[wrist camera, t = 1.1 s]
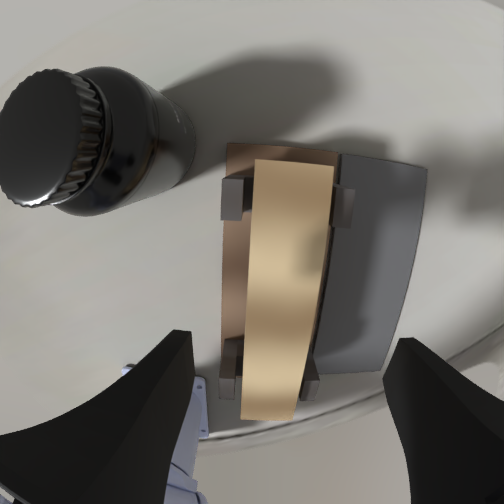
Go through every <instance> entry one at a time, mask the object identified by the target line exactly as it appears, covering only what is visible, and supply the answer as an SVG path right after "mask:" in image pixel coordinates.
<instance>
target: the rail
mask: <svg viewBox="0 0 504 504" xmlns="http://www.w3.org/2000/svg"><path fill="white" fill-rule="evenodd" d="M333 174H334V166H326V165H318V164H308V163H298V162H287V161H274V160H260V159H255V168H254V185H253V201H252V218H251V235H250V253H249V270H248V287H247V305H246V322H245V340H244V358H243V376H242V396H241V418H240V420H292V419H293V415H294V411H295V407H296V403H297V399H298V395H299V390H300V386H301V381H302V377H303V372H304V368H305V363H306V358H307V354H308V349H309V344H310V339H311V333H312V328H313V323H314V317H315V312H316V306H317V300H318V294H319V288H320V281H321V275H322V268H323V261H324V254H325V247H326V239H327V231H328V223H329V214H330V205H331V195H332V185H333Z"/></svg>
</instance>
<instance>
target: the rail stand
mask: <svg viewBox="0 0 504 504" xmlns="http://www.w3.org/2000/svg"><path fill="white" fill-rule="evenodd" d="M255 159H260V160H274V161H287V162H298V163H308V164H318V165H326V166H334V174H333V185H332V195H331V205H330V214H329V223H328V231H327V239H326V247H325V254H324V261H323V268H322V275H321V281H320V288H319V294H318V300H317V306H316V312H315V317H314V323H313V328H312V333H311V339H310V344H309V349H308V354H307V358H306V363H305V368H304V372H303V377H302V381H301V386H300V390H299V398H300V401H314V399H315V396H316V392H317V389H318V385H319V382H320V379H319V376H318V372H317V368H316V365H315V361H314V358H313V354H312V351H311V345H312V341H313V335H314V330H315V325H316V320H317V314H318V309H319V303H320V297H321V291H322V285H323V279H324V273H325V266H326V259H327V252H328V245H329V237H330V229H331V227H335V228H348V229H351V222H352V215H353V206H354V198H355V189H352V188H349V187H345V186H342V185H339V184H336V172H337V159H338V152H331V151H324V150H315V149H306V148H297V147H286V146H273V145H259V144H240V143H227V160H226V177H225V178H223V179H222V195H221V220H224V229H223V262H222V317H221V367H220V374H219V399H232V400H234V392H235V379H236V377H237V378H242V376H243V358H244V340H245V322H246V305H247V287H248V270H249V253H250V235H251V218H252V201H253V185H254V168H255Z"/></svg>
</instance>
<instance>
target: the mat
mask: <svg viewBox="0 0 504 504" xmlns="http://www.w3.org/2000/svg"><path fill="white" fill-rule="evenodd" d="M426 179H427V169H423V168H419V167H415V166H410V165H405V164H400V163H395V162H390V161H385V160H379V159H374V158H368V157H362V156H356V155H349V154H341V158H340V170H339V182H338V184H339V185H342V186H345V187H349V188H352V189H355V198H354V206H353V215H352V222H351V229H348V228H335V227H334V228H333V236H332V243H331V250H330V257H329V264H328V271H327V277H326V283H325V289H324V295H323V301H322V306H321V312H320V317H319V323H318V328H317V333H316V338H315V343H314V347H313V352H312V354H313V358H314V361H315V365H316V368H317V372H318V374H338V373H355V372H369V371H380V370H381V367H382V365H383V362H384V359H385V357H386V354H387V351H388V348H389V345H390V342H391V340H392V337H393V334H394V330H395V327H396V324H397V321H398V318H399V314H400V311H401V308H402V304H403V300H404V297H405V293H406V289H407V285H408V282H409V277H410V273H411V269H412V265H413V260H414V256H415V251H416V246H417V241H418V235H419V230H420V224H421V218H422V211H423V204H424V197H425V188H426Z"/></svg>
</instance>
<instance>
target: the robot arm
mask: <svg viewBox="0 0 504 504" xmlns="http://www.w3.org/2000/svg"><path fill="white" fill-rule="evenodd" d="M122 374H123V376H122V377H121V378H120V379H118V380H117V381H116V382H115V383H113V384H112V385H111V386H109V387H108V388H107V389H105V390H104V391H102V392H101V393H99V394H98V395H96V396H95V397H93V398H92V399H90V400H89V401H87V402H85V403H83V404H82V405H80V406H78V407H76V408H74V409H72V410H70V411H68V412H67V413H65V414H63V415H61V416H58V417H56V418H54V419H52V420H49V421H47V422H44V423H42V424H39V425H36V426H33V427H30V428H27V429H24V430H20V431H16V432H12V433H8V434H4V435H0V487H1V488H2V489H4V490H5V491H6V492H8V493H9V494H10V495H12V496H13V497H14V498H15V499H14V502H13V503H12V502H10V501H9V500H7V499H6V498H5V497H3V496H2V495H1V494H0V504H208V502H207V500H206V497H205V496H204V495H203V494H202V493H201V492H198V491H196V490H197V483H198V481H197V480H194V479H192V476H193V471H194V465H195V459H196V453H197V447H198V441H199V438H208V436H209V429H208V416H207V401H206V384H205V380H204V378H202V377H195V367H194V357H193V346H192V334H191V331H182V330H172V331H171V332H170V333H169V334H168V335H167V336H166V337H165V338H164V339H163V340H162V341H161V342H160V343H159V344H158V345H157V346H156V347H155V348H154V349H153V350H152V351H151V352H150V353H148V354H147V355H146V356H145V357H144V358H143V359H142V360H141V361H140V362H139V363H137V364H136V365H135V366H134V367H133V368H132V367H127V366H125V367H123V369H122ZM383 384H384V389H385V394H386V398H387V402H388V405H389V408H390V411H391V414H392V417H393V420H394V423H395V426H396V428H397V431H398V434H399V437H400V440H401V443H402V446H403V449H404V453H405V457H406V462H407V468H408V474H409V482H410V493H411V504H504V401H502V400H500V399H498V398H497V397H495V396H493V395H492V394H490V393H488V392H486V391H485V390H483V389H482V388H480V387H479V386H477V385H476V384H474V383H473V382H472V381H470V380H469V379H467V378H466V377H465V376H463V375H462V374H461V373H459V372H458V371H457V370H455V369H454V368H453V367H452V366H450V365H449V364H448V363H447V362H445V361H444V360H443V359H442V358H440V357H439V356H438V355H437V354H435V353H434V352H433V351H431V350H430V349H429V348H428V347H426V346H425V345H424V344H422V343H421V342H419V341H418V340H417V339H415V338H413V337H412V338H399V341H398V343H397V346H396V348H395V351H394V353H393V356H392V358H391V361H390V363H389V365H388V367H387V370H386V372H385V374H384V376H383ZM198 385H200V386H198Z"/></svg>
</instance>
